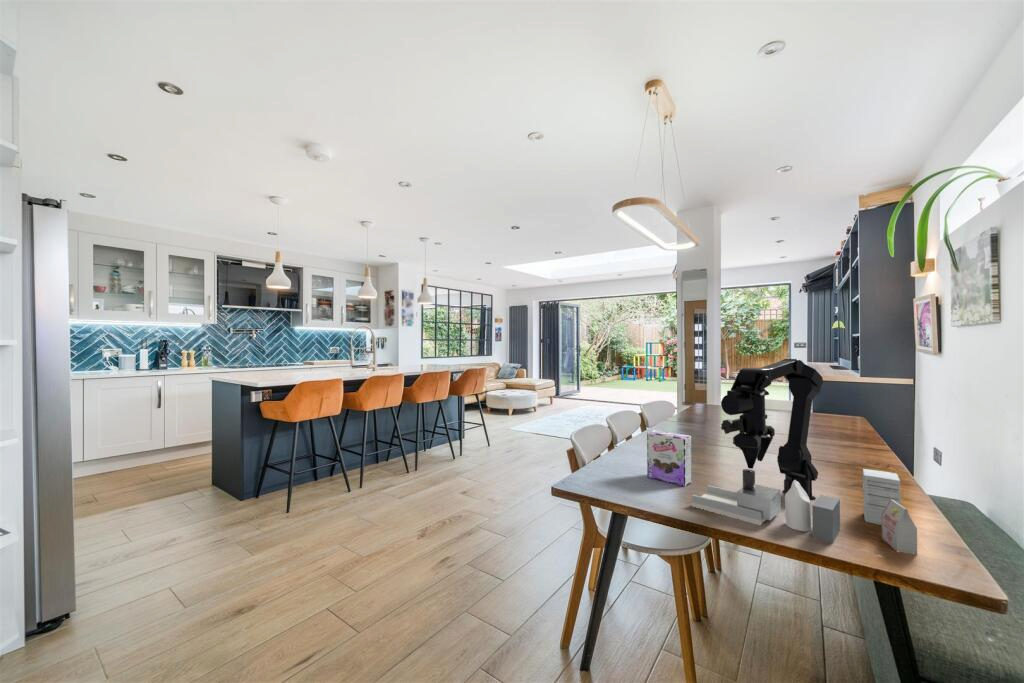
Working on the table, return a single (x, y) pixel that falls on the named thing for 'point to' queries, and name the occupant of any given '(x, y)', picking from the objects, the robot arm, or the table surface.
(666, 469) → the candy box
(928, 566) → the table surface
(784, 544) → the table surface
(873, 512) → the supplement box
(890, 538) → the gable top carton
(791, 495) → the white pouch
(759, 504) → the block
